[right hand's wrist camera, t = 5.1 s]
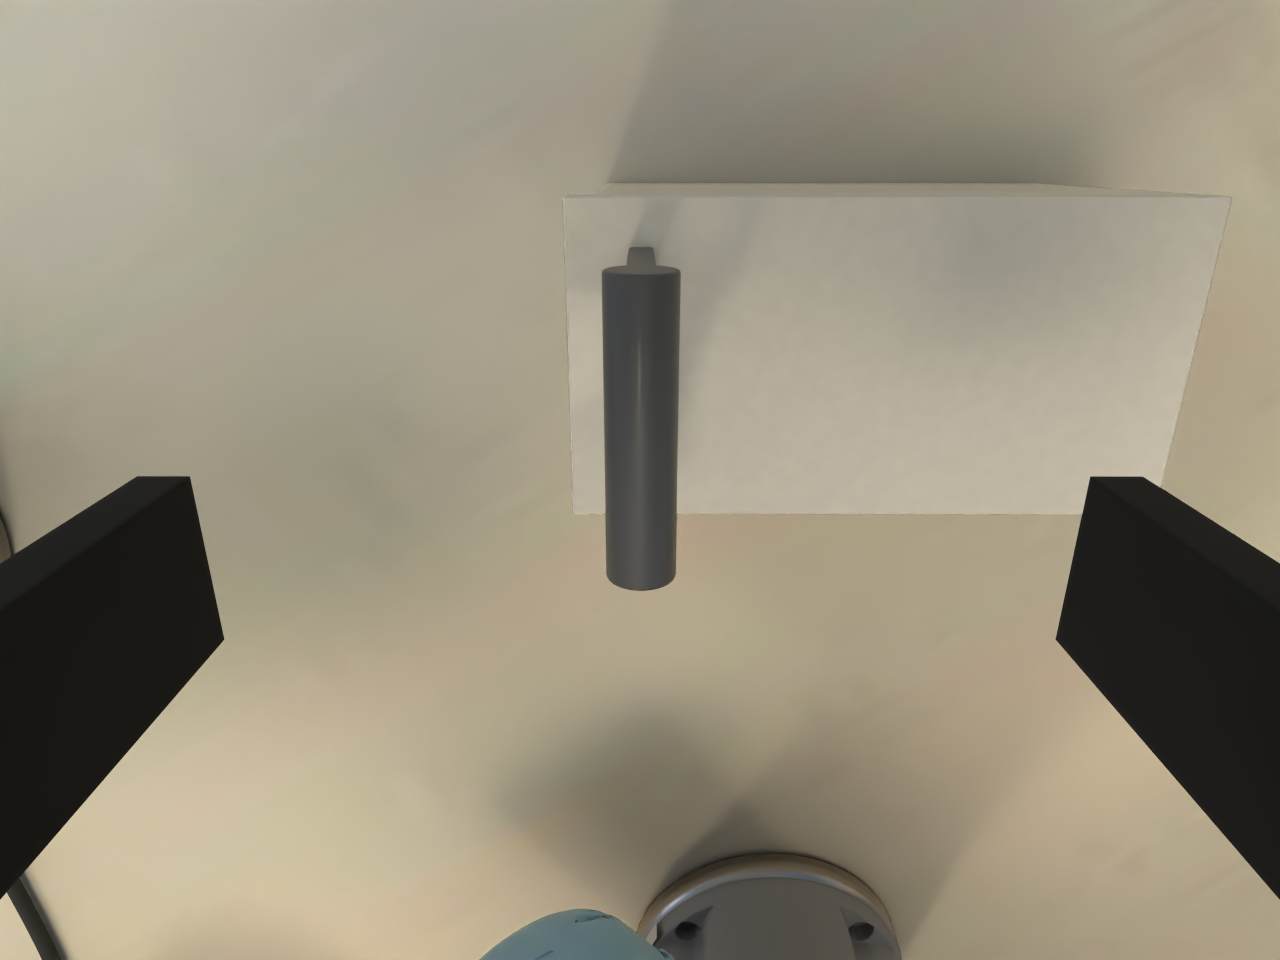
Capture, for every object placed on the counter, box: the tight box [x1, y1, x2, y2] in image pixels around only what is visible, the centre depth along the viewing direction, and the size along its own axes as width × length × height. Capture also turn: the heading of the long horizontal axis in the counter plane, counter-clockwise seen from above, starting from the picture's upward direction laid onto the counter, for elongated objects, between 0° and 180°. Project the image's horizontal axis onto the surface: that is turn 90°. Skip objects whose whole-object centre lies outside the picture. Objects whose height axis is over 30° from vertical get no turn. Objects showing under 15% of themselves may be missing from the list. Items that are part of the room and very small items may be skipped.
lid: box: [563, 195, 1232, 591], centre depth 21 cm, size 18×9×8 cm, turn 90°
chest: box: [595, 183, 1199, 195], centre depth 30 cm, size 17×9×11 cm, turn 90°
